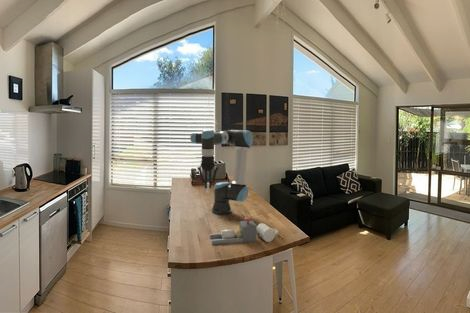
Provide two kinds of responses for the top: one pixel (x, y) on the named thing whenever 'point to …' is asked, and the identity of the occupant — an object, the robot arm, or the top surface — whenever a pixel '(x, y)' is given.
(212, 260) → the top surface
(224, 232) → the fitting
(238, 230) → the valve rig
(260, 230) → the mug
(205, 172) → the robot arm
